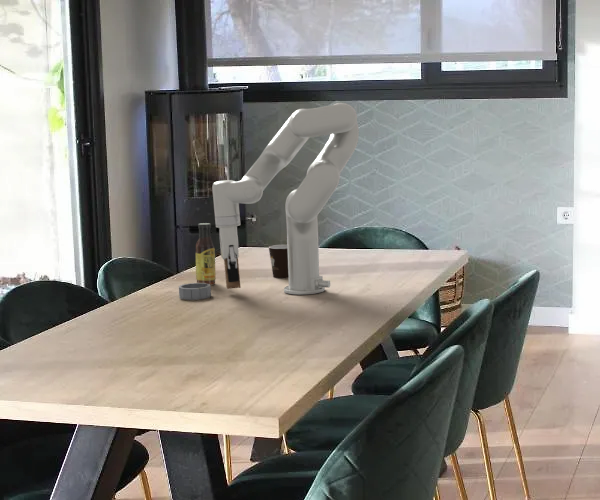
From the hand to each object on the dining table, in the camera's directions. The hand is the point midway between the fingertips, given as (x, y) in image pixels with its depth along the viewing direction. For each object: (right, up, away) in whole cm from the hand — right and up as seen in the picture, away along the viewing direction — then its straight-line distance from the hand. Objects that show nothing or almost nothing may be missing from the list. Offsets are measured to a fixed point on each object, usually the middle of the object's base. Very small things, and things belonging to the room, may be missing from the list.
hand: (233, 279), depth 342 cm
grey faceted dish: (-12, -5, -1) cm, 13 cm away
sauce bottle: (-10, -2, +19) cm, 21 cm away
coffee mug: (+15, 0, +30) cm, 34 cm away
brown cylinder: (0, -2, 0) cm, 2 cm away
